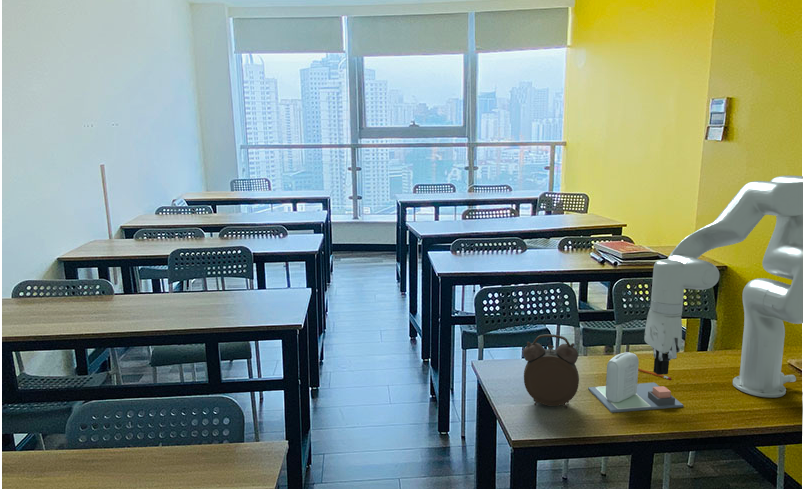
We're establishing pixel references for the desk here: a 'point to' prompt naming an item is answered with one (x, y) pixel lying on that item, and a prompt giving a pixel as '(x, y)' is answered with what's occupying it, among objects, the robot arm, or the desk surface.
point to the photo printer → (622, 377)
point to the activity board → (636, 399)
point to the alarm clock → (551, 372)
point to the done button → (661, 392)
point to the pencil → (654, 374)
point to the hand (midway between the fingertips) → (660, 373)
